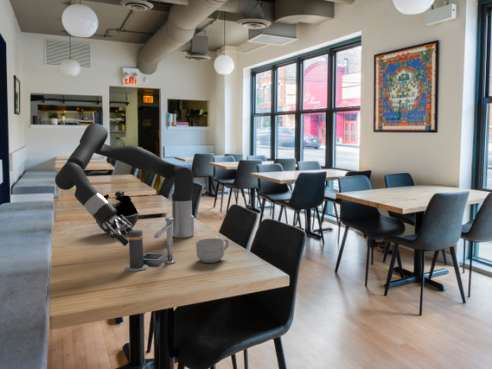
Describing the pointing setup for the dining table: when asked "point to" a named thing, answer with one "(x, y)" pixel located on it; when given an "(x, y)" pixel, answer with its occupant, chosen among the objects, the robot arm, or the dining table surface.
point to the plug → (136, 249)
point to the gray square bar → (164, 228)
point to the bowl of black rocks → (125, 210)
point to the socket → (154, 258)
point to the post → (170, 246)
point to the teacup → (211, 249)
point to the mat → (137, 268)
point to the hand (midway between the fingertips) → (131, 240)
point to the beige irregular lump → (117, 197)
